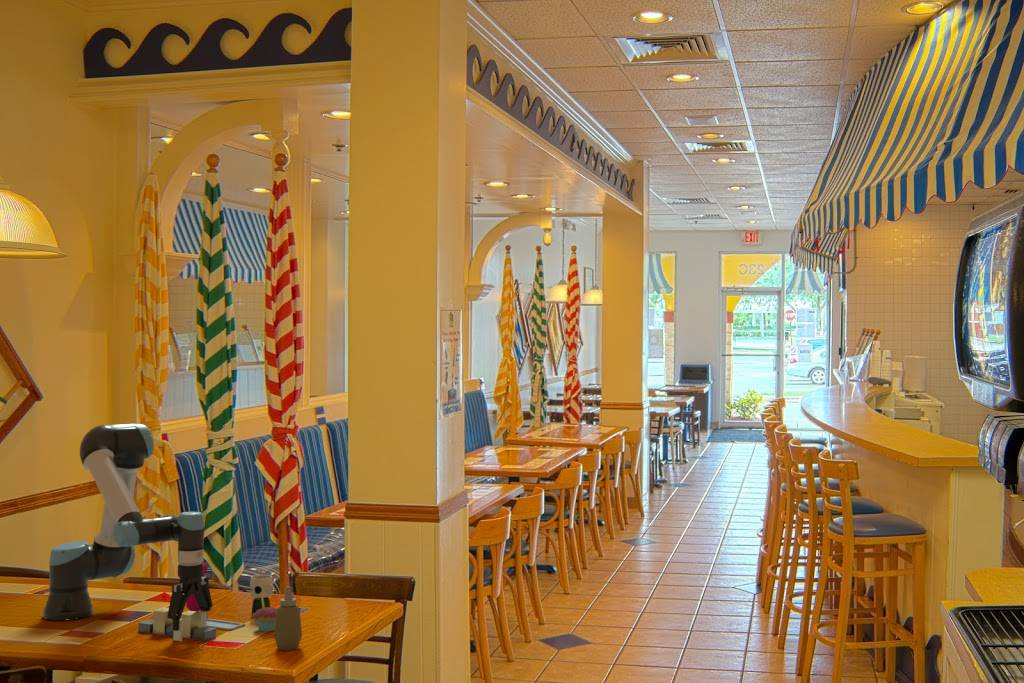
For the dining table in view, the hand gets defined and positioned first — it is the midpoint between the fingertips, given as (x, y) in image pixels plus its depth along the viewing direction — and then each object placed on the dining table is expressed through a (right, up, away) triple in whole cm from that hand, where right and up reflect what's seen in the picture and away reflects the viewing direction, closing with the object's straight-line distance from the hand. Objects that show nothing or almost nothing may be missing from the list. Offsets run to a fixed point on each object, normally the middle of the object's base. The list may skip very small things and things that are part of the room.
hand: (190, 636), depth 323 cm
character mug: (+15, -1, +27) cm, 31 cm away
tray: (+4, 0, +14) cm, 14 cm away
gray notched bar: (-5, 0, +2) cm, 5 cm away
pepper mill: (-5, -1, +25) cm, 26 cm away
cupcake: (+21, -1, +9) cm, 23 cm away
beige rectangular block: (0, 0, 0) cm, 0 cm away
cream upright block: (-9, 0, +4) cm, 10 cm away
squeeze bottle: (+32, -1, -11) cm, 34 cm away
